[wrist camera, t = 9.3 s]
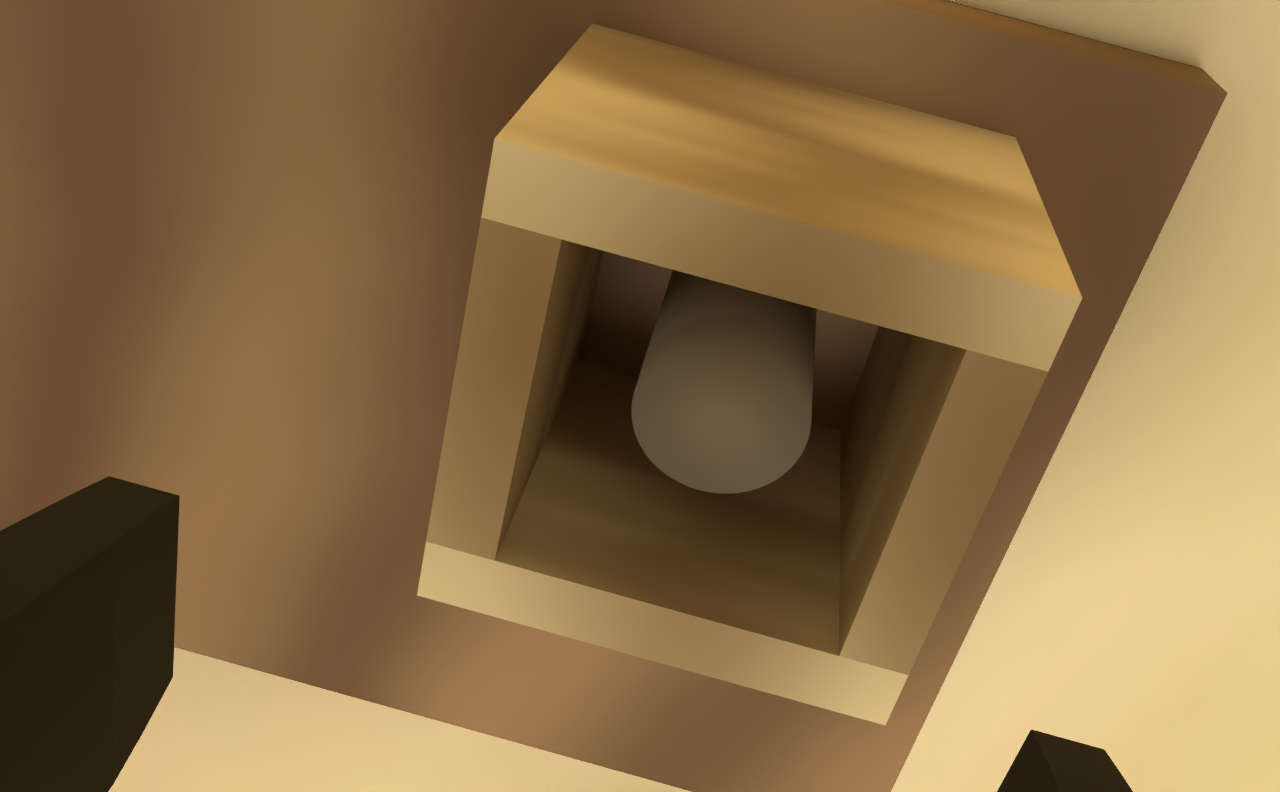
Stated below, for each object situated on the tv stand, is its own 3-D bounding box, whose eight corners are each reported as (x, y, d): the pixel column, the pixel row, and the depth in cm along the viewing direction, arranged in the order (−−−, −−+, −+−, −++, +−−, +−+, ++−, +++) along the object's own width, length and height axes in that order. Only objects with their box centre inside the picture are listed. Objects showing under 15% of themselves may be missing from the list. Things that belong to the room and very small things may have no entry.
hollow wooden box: (517, 390, 18) (417, 594, 14) (592, 23, 16) (495, 138, 11) (875, 488, 18) (884, 724, 14) (1015, 137, 15) (1081, 297, 11)
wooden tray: (-44, 536, 23) (-258, 731, 19) (-110, -281, 16) (-481, -284, 12) (865, 789, 23) (871, 1050, 18) (1201, 68, 16) (1344, 204, 11)
